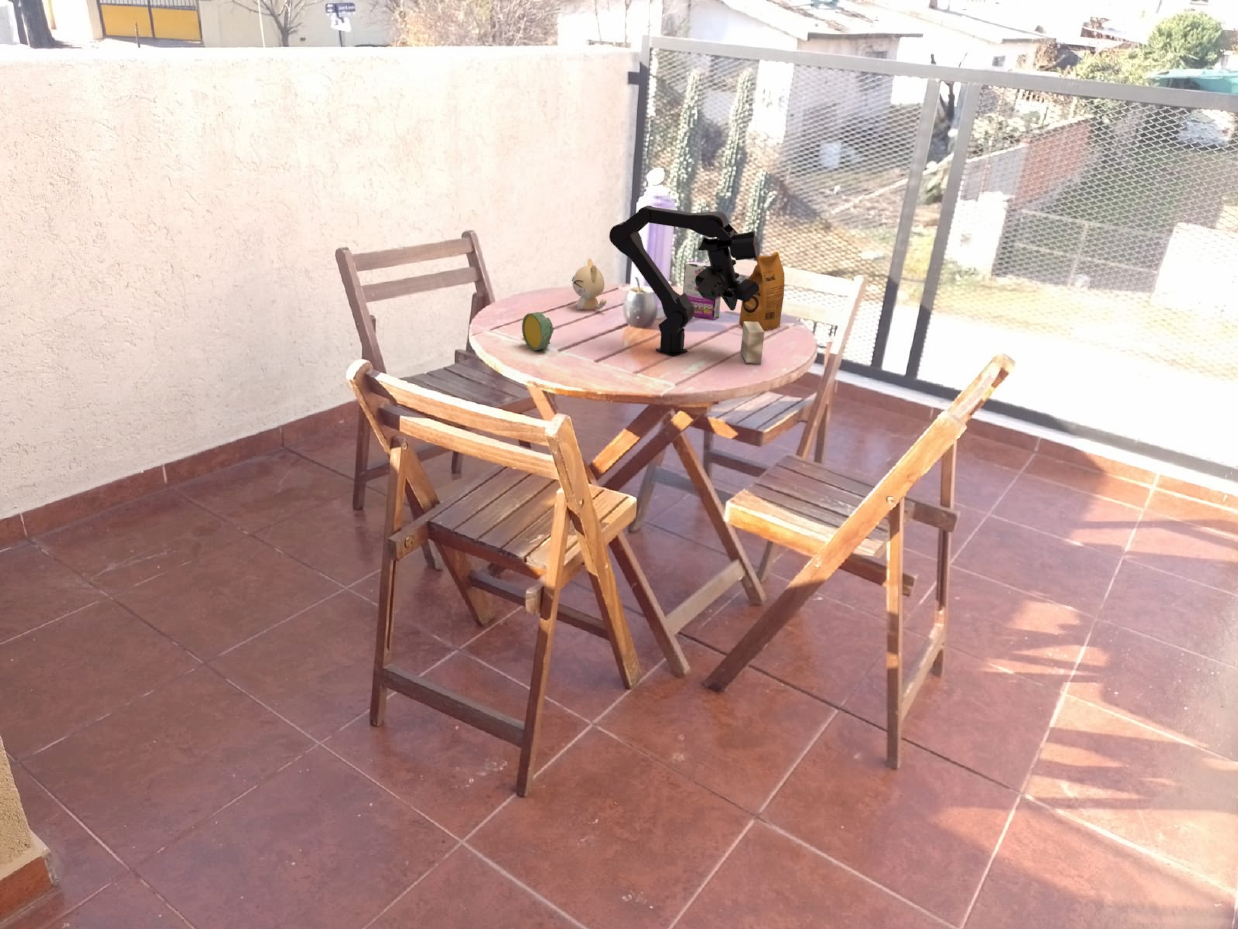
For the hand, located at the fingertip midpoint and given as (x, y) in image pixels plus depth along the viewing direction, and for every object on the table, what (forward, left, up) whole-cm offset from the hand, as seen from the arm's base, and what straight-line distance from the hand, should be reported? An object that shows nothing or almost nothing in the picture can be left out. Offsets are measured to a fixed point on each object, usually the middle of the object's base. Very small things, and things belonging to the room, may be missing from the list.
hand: (732, 309), depth 244 cm
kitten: (+1, +56, -12) cm, 58 cm away
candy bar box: (+23, +28, -12) cm, 38 cm away
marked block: (0, -8, -12) cm, 14 cm away
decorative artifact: (-37, +35, -12) cm, 53 cm away
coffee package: (+28, +9, -12) cm, 32 cm away
